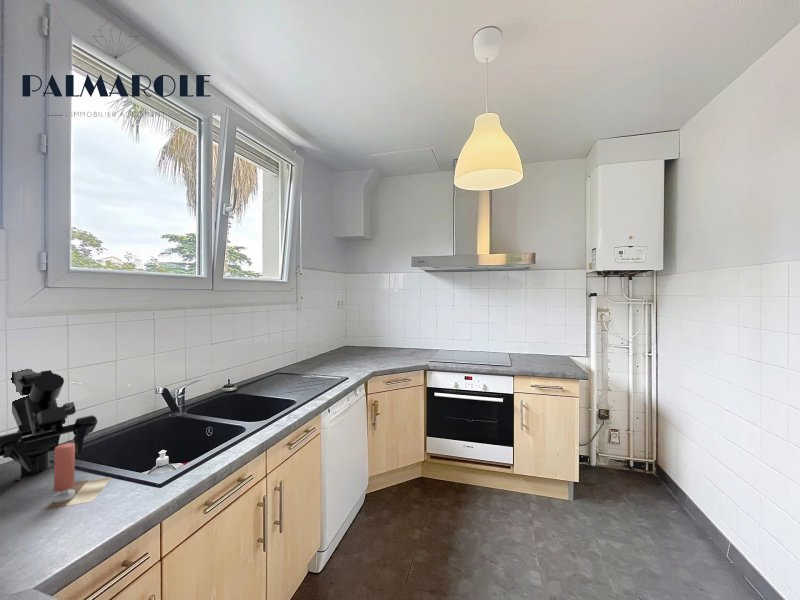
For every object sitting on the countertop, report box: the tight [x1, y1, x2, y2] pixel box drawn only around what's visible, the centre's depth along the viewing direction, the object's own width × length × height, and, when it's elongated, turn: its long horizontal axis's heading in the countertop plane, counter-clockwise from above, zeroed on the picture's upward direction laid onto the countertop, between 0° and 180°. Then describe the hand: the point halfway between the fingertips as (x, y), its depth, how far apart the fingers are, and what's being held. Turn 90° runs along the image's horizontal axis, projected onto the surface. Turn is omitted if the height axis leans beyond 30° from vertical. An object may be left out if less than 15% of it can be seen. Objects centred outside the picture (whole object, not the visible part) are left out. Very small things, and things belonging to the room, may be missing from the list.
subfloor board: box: [44, 476, 112, 511], centre depth 88 cm, size 12×9×1 cm
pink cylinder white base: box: [51, 442, 76, 504], centre depth 85 cm, size 4×4×13 cm
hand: (56, 462), depth 88 cm, fingers open, 9 cm apart
